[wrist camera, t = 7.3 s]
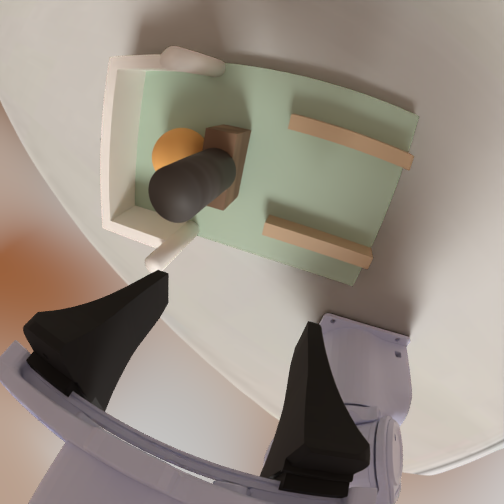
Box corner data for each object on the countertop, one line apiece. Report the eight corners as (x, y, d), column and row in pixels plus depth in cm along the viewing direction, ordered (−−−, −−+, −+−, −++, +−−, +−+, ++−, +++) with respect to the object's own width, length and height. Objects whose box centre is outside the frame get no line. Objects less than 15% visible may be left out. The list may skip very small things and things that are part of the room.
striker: (257, 131, 18) (207, 148, 11) (243, 197, 20) (194, 249, 14) (218, 123, 18) (152, 137, 11) (208, 188, 21) (147, 233, 14)
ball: (147, 130, 15) (161, 121, 18) (143, 190, 17) (156, 171, 20) (212, 136, 16) (214, 127, 19) (203, 196, 18) (206, 177, 21)
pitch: (415, 113, 15) (455, 117, 9) (351, 281, 23) (352, 341, 17) (137, 58, 18) (76, 54, 12) (125, 208, 25) (75, 240, 20)
